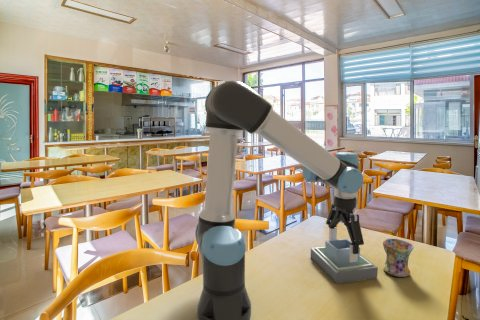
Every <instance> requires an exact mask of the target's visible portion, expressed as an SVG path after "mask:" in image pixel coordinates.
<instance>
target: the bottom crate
mask: <svg viewBox="0 0 480 320" xmlns="http://www.w3.org/2000/svg"><path fill="white" fill-rule="evenodd" d="M319 247H320V246H318V247H317V246H316V247H310V259H311V260H312V262H314V263H315V264H316V265H317V266H318V267H319V268H320V269H321V270H322V272H324V274H326V276H327V277H329V279H330V280H331V281H332V282H333V283H334V284H335V285H339V284H346V283H352V282H353V283H354V282H360V281H367V280H374V279H375V280H376V279H377V278H378V273H379V272H378V269H379V268H378V265H376V264H374V263H373V262H372V261H370V260H369V259H368V258H366V256H365V257H364V255H362V254H361V253H360V256H362V257H363V258H364V259H366V260H367V261H368V262H370V263H371V264H372V267H366V268H358V269H351V270H343V271H336V270H335V269H334V268H333V267H332V266H331V265H330V264H329V263H328V262H327V261H326V260H325V259H324V258H323V257H322V256H321V255H320V254H319V253H318V252H317V251H316V250H315V248H319Z"/></svg>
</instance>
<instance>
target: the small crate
mask: <svg viewBox="0 0 480 320" xmlns="http://www.w3.org/2000/svg"><path fill="white" fill-rule="evenodd" d="M324 242H325V246H324V247H325V256H326V257H327V258H328V259H329V260H330V261H331V262H332V263H334V264H335V265H336V266H337V267H338V268H342V267H350V266H358V265H359V259H360V254H361V247H360V246H359V253H358V261H357V262H349V255H350V243H352V242H351V239H350V238H340V239H336V240H329V239H328V240H325V241H324Z"/></svg>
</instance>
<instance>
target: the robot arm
mask: <svg viewBox="0 0 480 320" xmlns="http://www.w3.org/2000/svg"><path fill="white" fill-rule="evenodd" d="M204 108H205V114H206V116H205V129H206V131H208V133H209V141H208V142H209V143H208V156H207V157H208V158H207V168H206V169H207V171H206V180H205V181H206V182H205V191H204V192H205V195H204V206H203V207H204V208H203V209H202V210H200V212H199V214H198V222H197V225H196V226H195V227H196V229H195V241H196V243H197V246H198V249H199V252H200V258H201V261H202V284H203V285H202V286H203V287H202V290H201V293H200V297H199V300H198V303H197V317H198V318H197V319H198V320H250V318H251V315H252V303H251V299H250V297H249V294H248V291H247V288H246V285H245V284H246V241H245V237H244V235H243V233H242V232H241V230H239V229H238V228H235V225H236V224H235V223H236V215H235V214H234V212H233V211H232V205H233V194H234V182H235V174H236V173H235V170H236V160H237V150H238V141H239V140H238V139H239V136H240V134H242V133H244V131H246V132H248V133H249V134H250V135H253V134H254V135H255V134H257V135H258V136H259V137H261V138H263V140H265V141H267V142H268V143H270V144H271V145H272V146H274V147H276V148H277V149H279V150H280V151H281V152H283V154H286V155H287V156H288V157H290V158H291V159H293V160H295V161H296V162H297V163H299V164H300V165H301V166H302V176H303V179H304V180H305V181H306V182H307V183H313V184H315V183H321V184H324V185H326V186H329V187H331V188H333V189H334V190H333V194H334V196H333V203H332V204H331V205H330V211H329V214H328V217H327V219H326V222H325V223H326V225H328V229H329V233H328V235H329V236H328V240H337V235H338V225H339V224H340V222H342V223H343V226H345V228H346V230H347V233H348V237H349V240H350V241H351V242H352V243H350V255H349V262H357V261H358V253H359V247H360V246H363V245H364V244H365V242H364V238H363V233H362V229H361V224H360V215H359V214H354V209H355V208H356V207H357V192H359V191H360V190H361V189H362V186H363V184H364V175H363V173H362V172H361V170H360V169H359V166H360V165H359V155H358V154H357V153H356V152H352V151H351V152H349V151H340V152H336V154H335V155H334V154H332V153H331V152H330V151H328V150H327V149H325V148H324V147H323V146H322V145H320V143H318V142H316V141H315V140H314V139H313V138H311V137H310V136H308V135H307V134H306V133H304V132H303V131H301V130H300V129H299V128H298V127H296V126H295V125H293V124H292V123H291V122H289V120H287V119H285V118H284V117H283V116H282V115H280V114H279V113H277V112H276V111H275V110H274V108H273V104H272V103H271V102H269V100H266V99H265V98H264V97H263V96H261V95H260V94H259V93H257V91H255V90H254V89H252V88H251V87H250V86H249V85H246V84H245V83H243V82H241V81H237V80H227V81H224V82H222V83H220V84H218V85H216V86H215V87H213V88H212V89H211V90H210V91H209V92H208V94H207V95H206V97H205V102H204Z"/></svg>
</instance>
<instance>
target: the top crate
mask: <svg viewBox="0 0 480 320" xmlns="http://www.w3.org/2000/svg"><path fill="white" fill-rule="evenodd" d="M318 247H319V248H316V247H314V248H315V250H316V251H317V252H318V253H319V254H320V255H321V256H322V257H323V258H324V259H325V260H326V261H327V262H328V263H329V264H330V265H331V266H332V267H333V268H334V269H335V270H336V271H343V270H351V269H358V268H366V267H372V264H371V263H372V262H371V261H370V262H371V263H370V262H368V261H367V260H368V259H367V258H366V259H367V260H366V259H364V258H363V257H364V256H363V255H362V256H363V257H362V256H360V259H359V265H358V266H350V267H342V268H338V267H337V266H336V265H335V264H334V263H332V262H331V261H330V260H329V259H328V258H327V257H326V256H325V246H318Z"/></svg>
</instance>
